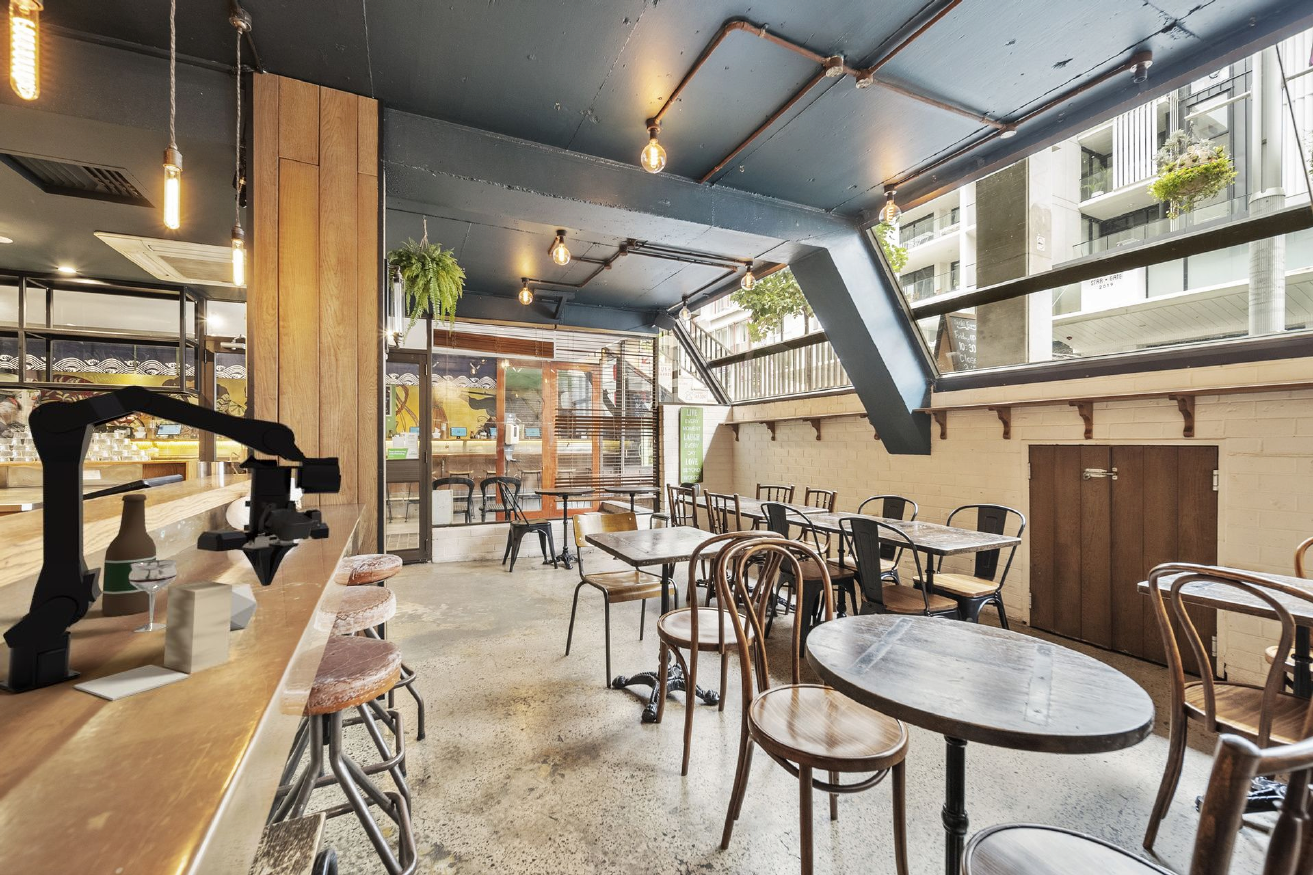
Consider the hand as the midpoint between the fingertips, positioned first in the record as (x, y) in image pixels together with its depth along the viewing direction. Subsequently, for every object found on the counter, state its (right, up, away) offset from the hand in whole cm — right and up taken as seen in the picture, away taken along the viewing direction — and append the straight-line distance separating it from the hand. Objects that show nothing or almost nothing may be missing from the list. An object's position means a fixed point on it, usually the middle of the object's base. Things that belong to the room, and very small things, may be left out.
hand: (266, 585), depth 94 cm
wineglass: (-27, -10, +8) cm, 30 cm away
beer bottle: (-41, -10, +18) cm, 46 cm away
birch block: (-4, -10, -10) cm, 14 cm away
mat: (-7, -9, -17) cm, 20 cm away
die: (-13, -10, +8) cm, 18 cm away
